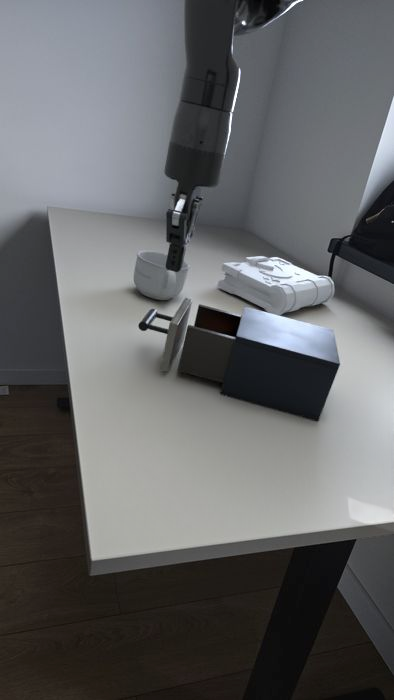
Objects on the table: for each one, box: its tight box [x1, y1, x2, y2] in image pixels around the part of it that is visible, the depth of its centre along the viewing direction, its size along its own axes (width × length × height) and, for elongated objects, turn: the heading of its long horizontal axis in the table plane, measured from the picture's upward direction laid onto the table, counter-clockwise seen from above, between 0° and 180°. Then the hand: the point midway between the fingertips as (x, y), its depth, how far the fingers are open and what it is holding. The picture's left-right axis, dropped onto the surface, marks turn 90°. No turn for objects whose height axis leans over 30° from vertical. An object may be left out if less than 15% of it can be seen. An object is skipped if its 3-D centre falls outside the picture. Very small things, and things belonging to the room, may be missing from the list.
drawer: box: [137, 297, 242, 384], centre depth 76 cm, size 18×11×8 cm, turn 80°
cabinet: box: [220, 306, 341, 422], centre depth 75 cm, size 15×13×10 cm
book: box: [216, 255, 336, 316], centre depth 118 cm, size 19×28×8 cm
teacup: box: [133, 250, 191, 301], centre depth 100 cm, size 14×11×8 cm
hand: (173, 269), depth 72 cm, fingers closed
